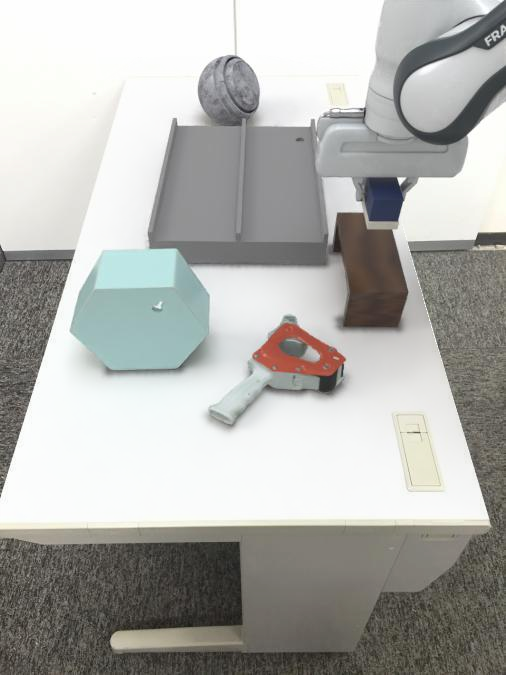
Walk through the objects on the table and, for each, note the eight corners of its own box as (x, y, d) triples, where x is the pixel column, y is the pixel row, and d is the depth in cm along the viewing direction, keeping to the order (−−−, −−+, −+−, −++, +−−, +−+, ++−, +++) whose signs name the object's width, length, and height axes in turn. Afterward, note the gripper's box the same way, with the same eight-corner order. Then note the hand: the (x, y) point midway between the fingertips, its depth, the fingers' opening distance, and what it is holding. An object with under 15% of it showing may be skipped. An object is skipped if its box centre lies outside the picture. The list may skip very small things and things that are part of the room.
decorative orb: (243, 142, 124) (242, 76, 113) (189, 128, 128) (183, 64, 117) (268, 113, 133) (270, 50, 122) (217, 102, 137) (214, 39, 126)
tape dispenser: (210, 433, 76) (351, 427, 75) (205, 414, 72) (354, 408, 71) (214, 335, 87) (337, 329, 86) (210, 314, 83) (339, 308, 82)
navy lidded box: (397, 229, 77) (405, 200, 73) (367, 229, 77) (373, 200, 73) (386, 189, 84) (392, 160, 80) (358, 189, 84) (363, 160, 80)
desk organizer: (152, 262, 97) (147, 232, 92) (176, 146, 123) (172, 117, 118) (324, 264, 97) (329, 234, 92) (312, 147, 123) (315, 118, 118)
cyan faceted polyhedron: (165, 349, 90) (229, 271, 77) (161, 386, 85) (229, 310, 72) (66, 314, 83) (118, 221, 70) (56, 353, 77) (111, 261, 65)
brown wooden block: (379, 247, 100) (387, 212, 94) (398, 327, 87) (409, 292, 81) (331, 247, 100) (337, 212, 94) (343, 326, 87) (350, 292, 81)
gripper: (320, 120, 66) (311, 212, 77) (484, 120, 66) (452, 212, 77) (316, 96, 70) (308, 186, 81) (471, 97, 70) (442, 186, 81)
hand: (379, 199), depth 79 cm, fingers closed on navy lidded box, 4 cm apart
